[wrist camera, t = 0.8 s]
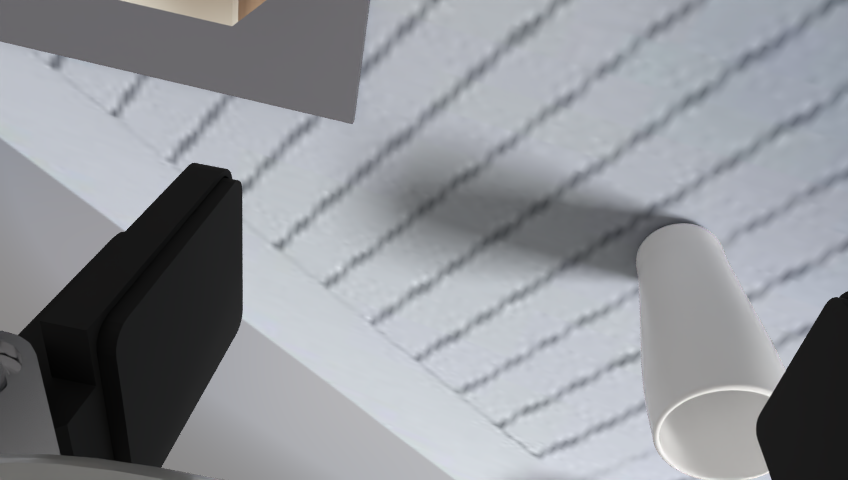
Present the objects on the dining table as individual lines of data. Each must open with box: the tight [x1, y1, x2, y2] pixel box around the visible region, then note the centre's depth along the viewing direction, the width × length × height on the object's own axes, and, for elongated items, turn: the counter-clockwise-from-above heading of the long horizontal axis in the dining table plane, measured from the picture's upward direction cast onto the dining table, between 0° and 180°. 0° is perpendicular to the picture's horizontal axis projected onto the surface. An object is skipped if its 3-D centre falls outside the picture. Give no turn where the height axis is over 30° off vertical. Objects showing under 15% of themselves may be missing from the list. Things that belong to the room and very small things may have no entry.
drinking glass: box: [636, 223, 786, 480], centre depth 38 cm, size 7×7×15 cm
